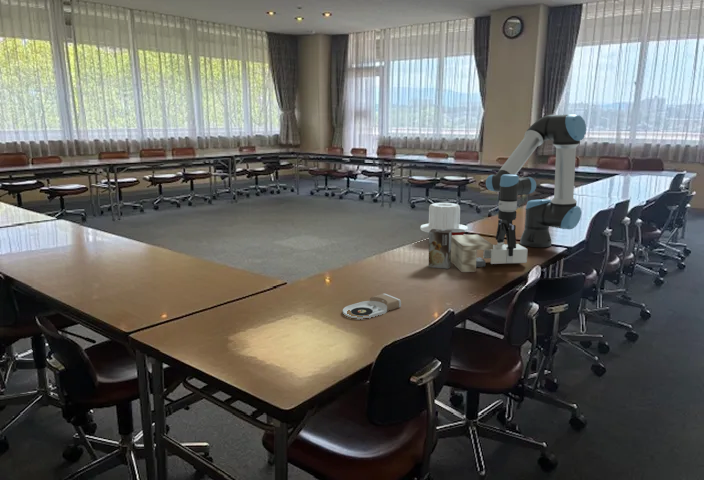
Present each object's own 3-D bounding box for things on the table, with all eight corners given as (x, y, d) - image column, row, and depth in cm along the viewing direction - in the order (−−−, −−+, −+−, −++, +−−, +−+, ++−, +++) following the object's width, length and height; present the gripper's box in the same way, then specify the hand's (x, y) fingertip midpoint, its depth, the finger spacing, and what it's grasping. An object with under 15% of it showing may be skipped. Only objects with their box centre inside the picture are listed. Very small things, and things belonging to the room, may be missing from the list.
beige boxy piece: (476, 258, 234) (477, 234, 232) (491, 271, 215) (493, 244, 212) (449, 259, 233) (449, 235, 230) (461, 272, 214) (462, 245, 211)
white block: (517, 256, 230) (518, 243, 229) (526, 262, 221) (527, 249, 219) (483, 257, 229) (483, 245, 228) (491, 263, 219) (491, 250, 218)
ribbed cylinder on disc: (415, 235, 284) (416, 201, 280) (458, 233, 287) (459, 200, 283) (426, 245, 260) (427, 209, 256) (473, 243, 263) (475, 207, 259)
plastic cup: (463, 250, 249) (464, 226, 246) (465, 256, 238) (466, 231, 236) (440, 250, 250) (441, 226, 247) (442, 256, 239) (443, 231, 237)
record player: (403, 300, 173) (357, 315, 161) (403, 309, 173) (357, 324, 162) (381, 291, 182) (335, 304, 170) (381, 300, 182) (336, 313, 171)
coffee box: (451, 265, 224) (452, 229, 220) (448, 269, 218) (449, 232, 215) (431, 263, 227) (432, 228, 224) (427, 267, 222) (428, 231, 218)
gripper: (489, 206, 230) (487, 253, 235) (509, 215, 208) (506, 266, 213) (505, 205, 231) (503, 253, 236) (526, 214, 209) (523, 266, 214)
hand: (504, 259), depth 225 cm, fingers closed on white block, 10 cm apart
